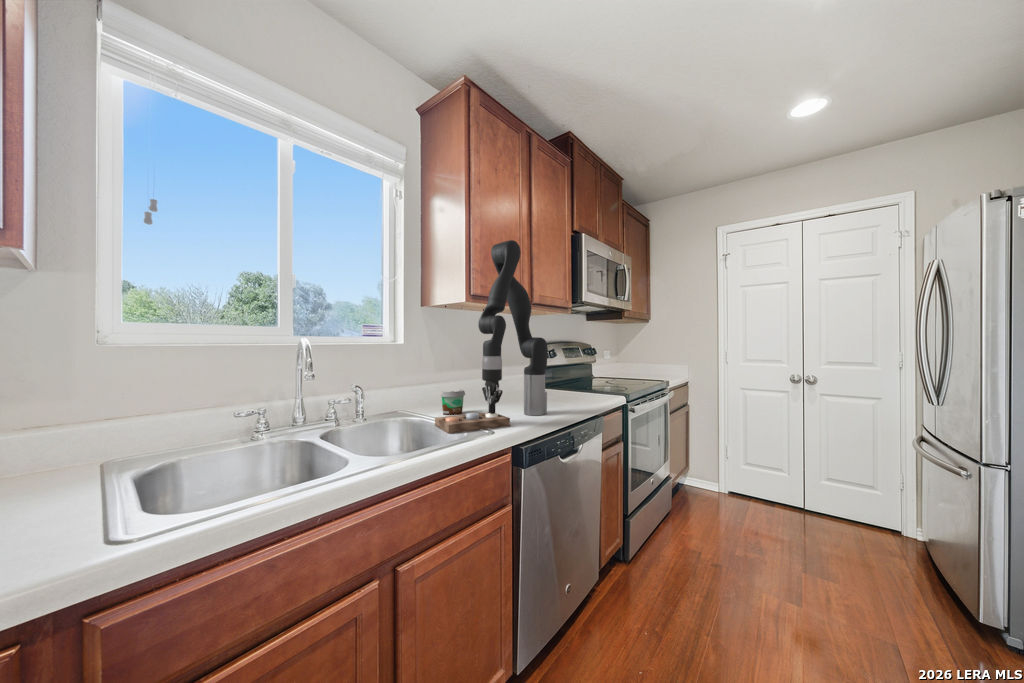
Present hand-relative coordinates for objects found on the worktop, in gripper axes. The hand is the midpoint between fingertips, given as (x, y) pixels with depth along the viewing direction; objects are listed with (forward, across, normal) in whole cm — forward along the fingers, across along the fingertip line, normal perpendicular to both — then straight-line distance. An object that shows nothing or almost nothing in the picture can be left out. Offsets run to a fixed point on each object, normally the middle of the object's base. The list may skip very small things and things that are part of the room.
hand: (491, 413), depth 146 cm
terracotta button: (+3, 0, +16) cm, 16 cm away
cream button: (+3, 0, 0) cm, 3 cm away
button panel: (+4, 0, +8) cm, 9 cm away
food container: (+4, +25, +4) cm, 26 cm away
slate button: (+3, 0, +8) cm, 8 cm away
